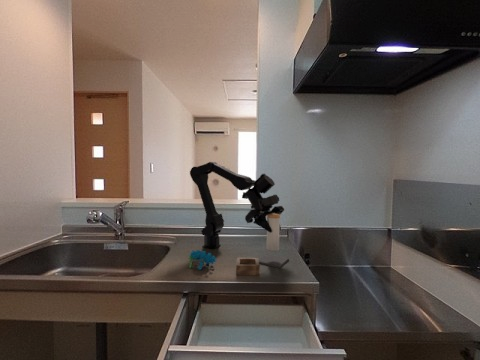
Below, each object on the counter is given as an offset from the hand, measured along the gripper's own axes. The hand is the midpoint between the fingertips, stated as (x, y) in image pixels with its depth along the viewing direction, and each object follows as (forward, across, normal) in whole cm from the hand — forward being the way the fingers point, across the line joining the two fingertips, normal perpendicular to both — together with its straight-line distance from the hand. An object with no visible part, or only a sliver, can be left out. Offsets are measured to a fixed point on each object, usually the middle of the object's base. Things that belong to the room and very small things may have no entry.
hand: (275, 230), depth 111 cm
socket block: (+9, -14, +10) cm, 19 cm away
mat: (+8, 0, +10) cm, 13 cm away
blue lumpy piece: (-1, -25, +20) cm, 32 cm away
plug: (+4, 0, +6) cm, 8 cm away
